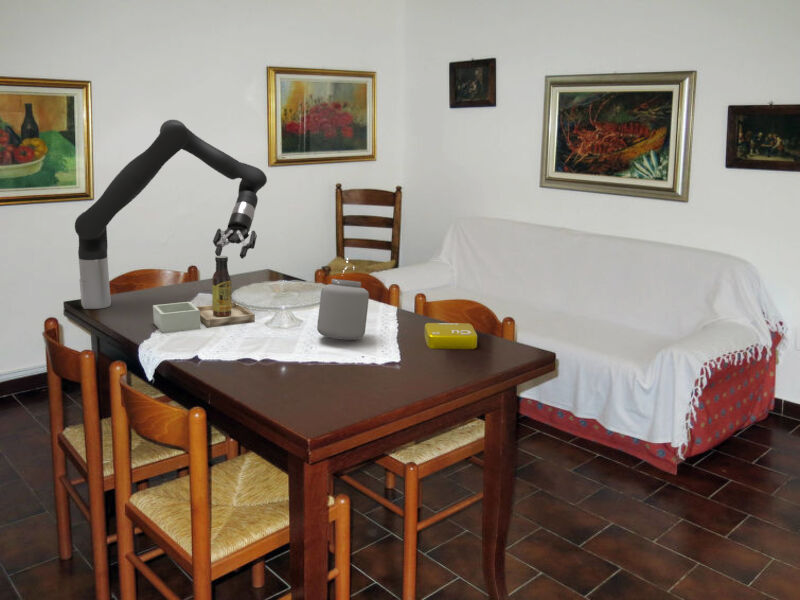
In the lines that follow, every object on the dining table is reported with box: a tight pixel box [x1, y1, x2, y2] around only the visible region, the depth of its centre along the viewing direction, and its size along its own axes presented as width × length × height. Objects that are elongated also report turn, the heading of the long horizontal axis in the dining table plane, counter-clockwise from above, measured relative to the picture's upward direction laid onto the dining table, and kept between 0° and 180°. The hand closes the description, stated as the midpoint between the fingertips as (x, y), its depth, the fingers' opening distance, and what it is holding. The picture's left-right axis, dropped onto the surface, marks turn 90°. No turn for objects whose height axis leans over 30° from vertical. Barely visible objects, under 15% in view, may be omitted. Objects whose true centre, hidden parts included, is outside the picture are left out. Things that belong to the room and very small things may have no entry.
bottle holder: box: [152, 301, 202, 334], centre depth 245 cm, size 12×12×6 cm
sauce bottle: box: [211, 255, 233, 316], centre depth 254 cm, size 7×6×20 cm
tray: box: [196, 302, 256, 328], centre depth 256 cm, size 16×18×2 cm
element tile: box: [424, 322, 478, 350], centre depth 236 cm, size 15×15×5 cm
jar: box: [316, 258, 370, 340], centre depth 234 cm, size 19×15×25 cm
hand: (229, 256), depth 258 cm, fingers open, 8 cm apart
